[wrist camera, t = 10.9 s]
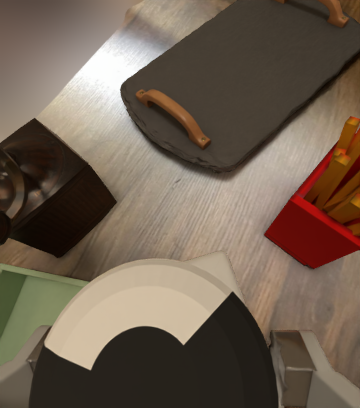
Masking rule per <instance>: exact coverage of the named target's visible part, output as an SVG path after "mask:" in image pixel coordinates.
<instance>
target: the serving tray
mask: <svg viewBox="0 0 360 408" xmlns="http://www.w3.org/2000/svg"><path fill="white" fill-rule="evenodd" d="M359 52H360V24H359V23H358V22H357V21H356V20H355V19H353V18H352V17H350V16H349V15H347V14H346V13H345V12H343V11H342V9H341V6H340V3H339V1H338V0H237V1H235V2H234V3H233V4H231V5H230V6H228V7H227V8H226V9H224V10H223V11H221V12H220V13H219V14H217V15H216V16H215V17H214V18H212V19H211V20H209V21H208V22H206V23H204V24H203V25H202V26H200V27H199V28H198V29H197V30H195V31H193V32H192V33H191V34H190V35H188V36H186V37H185V38H184V39H182V40H181V41H180V42H178V43H177V44H175V45H174V46H173V47H172V48H171V49H169V50H167V51H166V52H165V53H163V54H162V55H160V56H159V57H157V58H156V59H155V60H153V61H152V62H150V63H149V64H148V65H147V66H145V67H144V68H142V69H140V70H139V71H138V72H137V73H136V74H134V75H133V76H131V77H130V78H128V79H127V80H126V81H125V82H124V83H123V84H122V85H121V89H120V91H121V98H122V100H123V102H124V104H125V106H126V108H127V111H128V113H129V115H130V116H131V118H132V119H133V120H134V121H135V122H136V123H137V124H138V126H139V127H140V128H141V129H142V131H143V132H144V133H145V134H146V135H147V136H148V137H149V138H150V139H151V140H152V141H154V142H155V143H157V144H158V145H160V146H161V147H162V148H164V149H166V150H169V151H171V152H172V153H174V154H176V155H177V156H179V157H180V158H182V159H184V160H187V161H189V162H191V163H196V164H198V165H200V166H202V167H208V168H210V169H212V170H214V171H215V172H217V173H221V172H228V171H231V170H233V169H234V168H236V167H237V166H238V165H239V164H240V163H241V162H243V161H244V160H245V159H246V158H247V157H248V156H249V155H250V154H251V153H252V152H253V151H254V150H255V149H256V148H257V147H259V146H260V145H261V144H262V143H263V142H264V141H265V140H266V139H267V138H268V137H269V136H271V135H272V134H273V133H274V132H276V131H277V130H279V128H280V127H281V126H282V125H283V123H284V122H285V121H286V120H287V119H288V118H289V117H290V115H291V114H292V113H293V112H295V111H297V110H298V109H299V108H301V107H302V106H304V105H305V104H306V103H307V102H308V101H309V100H311V99H312V98H313V96H314V95H315V93H316V92H318V91H319V90H320V89H321V88H322V87H323V85H324V84H326V83H327V82H329V81H331V79H332V78H334V77H336V76H337V75H338V74H339V72H340V71H341V69H342V68H343V67H344V64H346V63H348V62H350V60H351V59H352V58H353V57H355V56H356V55H357V54H358V53H359Z"/></svg>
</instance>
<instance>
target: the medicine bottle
mask: <svg viewBox="0 0 360 408" xmlns="http://www.w3.org/2000/svg"><path fill="white" fill-rule="evenodd" d="M29 408H284V406H281V404H280V400H279V397H278V389H277V381H276V374H275V371H274V367H273V363H272V359H271V355H270V352H269V349H268V347H267V344H266V341H265V339H264V336H263V334H262V332H261V330H260V328H259V327H258V325H257V323H256V321H255V319H254V317H253V316H252V314H251V313H250V312H249V310H248V309H247V306H246V303H245V300H244V298H243V295H242V292H241V290H240V287H239V284H238V282H237V279H236V276H235V273H234V271H233V268H232V265H231V263H230V260H229V257H228V255H227V254H226V253H225V252H223V251H216V252H213V253H210V254H207V255H203V256H200V257H197V258H193V259H190V260H187V261H184V262H182V261H177V260H171V259H159V258H150V259H142V260H136V261H132V262H128V263H125V264H122V265H120V266H117V267H115V268H112V269H110V270H108V271H107V272H105V273H103V274H101V275H100V276H98V277H96V278H95V279H94V280H92V281H91V282H90V283H88V284H87V285H86V286H85V287H83V288H82V289H81V290H80V291H79V292H78V293H77V294H76V295H75V296H74V297H73V298H72V299H71V301H70V302H69V303H68V304H67V305H66V307H65V308H64V309H63V310H62V312H61V313H60V315H59V316H58V318H57V319H56V321H55V323H54V324H53V326H52V328H51V330H50V332H49V333H48V335H47V337H46V339H45V341H44V344H43V346H42V349H41V352H40V354H39V357H38V359H37V363H36V367H35V370H34V374H33V378H32V383H31V390H30V396H29Z"/></svg>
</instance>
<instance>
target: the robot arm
mask: <svg viewBox="0 0 360 408" xmlns="http://www.w3.org/2000/svg"><path fill="white" fill-rule="evenodd" d="M51 328H52V326H48V325H41V326H39V327H38V328H37V329H36V330H35V331H34V333H33V334H32V335H31V336H30V338H29V339H28V340H27V342H26V343H25V344H24V346H23V347H22V348H21V350H20V351H19V352H18V354H17V355H16V356H15V357H14V359H13V360H12V361H7V362H6V363H4V364H3V365H1V366H0V408H29V396H30V390H31V383H32V378H33V374H34V370H35V367H36V363H37V359H38V357H39V354H40V352H41V349H42V346H43V344H44V341H45V339H46V337H47V335H48V333H49V332H50V330H51ZM270 340H271V344H270V345H269V352H270V355H271V359H272V363H273V367H274V371H275V374H276V381H277V389H278V397H279V400H280V404H281V406H292V407H305V408H360V389H359V388H358V387H357V386H355V385H354V384H353V383H352V382H350V381H349V380H348V379H347V378H346V377H344V376H343V375H342V374H341V373H340V372H334V370H333V368H332V366H331V364H330V362H329V361H328V359H327V357H326V355H325V353H324V351H323V349H322V347H321V345H320V343H319V341H318V339H317V338H316V336H315V334H314V332H313V331H312V330H271V331H270Z"/></svg>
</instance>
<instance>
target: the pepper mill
mask: <svg viewBox="0 0 360 408" xmlns="http://www.w3.org/2000/svg"><path fill="white" fill-rule="evenodd" d="M115 203H116V200H115V199H114V197H113V196H112V195H111V193H110V192H109V190H108V189H107V187H106V186H105V185H104V183H103V182H102V181H101V179H100V178H99V177H98V175H97V174H96V173H95V171H94V170H93V169H92V167H91V166H90V165H89V164H88V163H87V162H86V161H85V160H84V159H83V158H82V157H81V156H80V155H79V154H77V153H76V152H75V151H74V150H73V149H72V148H71V147H70V146H68V145H67V144H66V143H65V142H64V141H63V140H62V139H61V138H60V137H59V136H57V135H56V134H55V133H54V132H52V131H51V130H50V129H48V128H47V127H46V126H44V125H43V124H42V123H40V122H39V121H38V120H37V119H35V118H34V119H32V120H31V121H30V122H28V123H27V124H25V125H24V126H23V127H21V128H19V129H18V130H17V131H15V132H14V133H13V134H12V135H10V136H9V137H7V138H6V139H5V140H3V141H2V142H1V143H0V245H3V244H4V243H5V242H6V240H7V239H8V238H11V239H14V240H16V241H19V242H21V243H24V244H26V245H29V246H31V247H34V248H36V249H39V250H42V251H44V252H47V253H50V254H52V255H54V256H56V257H57V258H58V257H60V256H61V255H62V254H64V253H65V252H66V251H68V250H69V249H70V248H71V247H73V246H74V245H75V244H76V243H78V242H79V241H80V240H81V239H82V238H83V237H84V236H85V235H86V234H87V233H88V232H89V231H90V230H91V229H92V228H93V227H94V226H95V225H96V224H98V223H99V222H100V221H101V220H102V219H103V218H104V216H105V215H106V214H107V213H108V211H109V210H110V209H111V208H112V207H113V205H114V204H115Z"/></svg>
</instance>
